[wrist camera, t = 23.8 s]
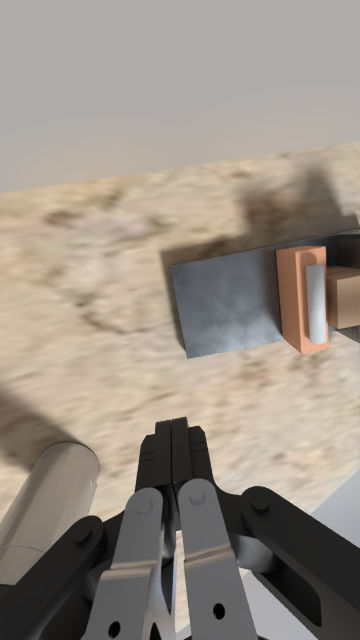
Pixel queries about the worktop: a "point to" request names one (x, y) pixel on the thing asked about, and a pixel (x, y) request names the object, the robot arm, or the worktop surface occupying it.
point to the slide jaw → (303, 297)
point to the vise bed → (245, 295)
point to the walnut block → (343, 296)
